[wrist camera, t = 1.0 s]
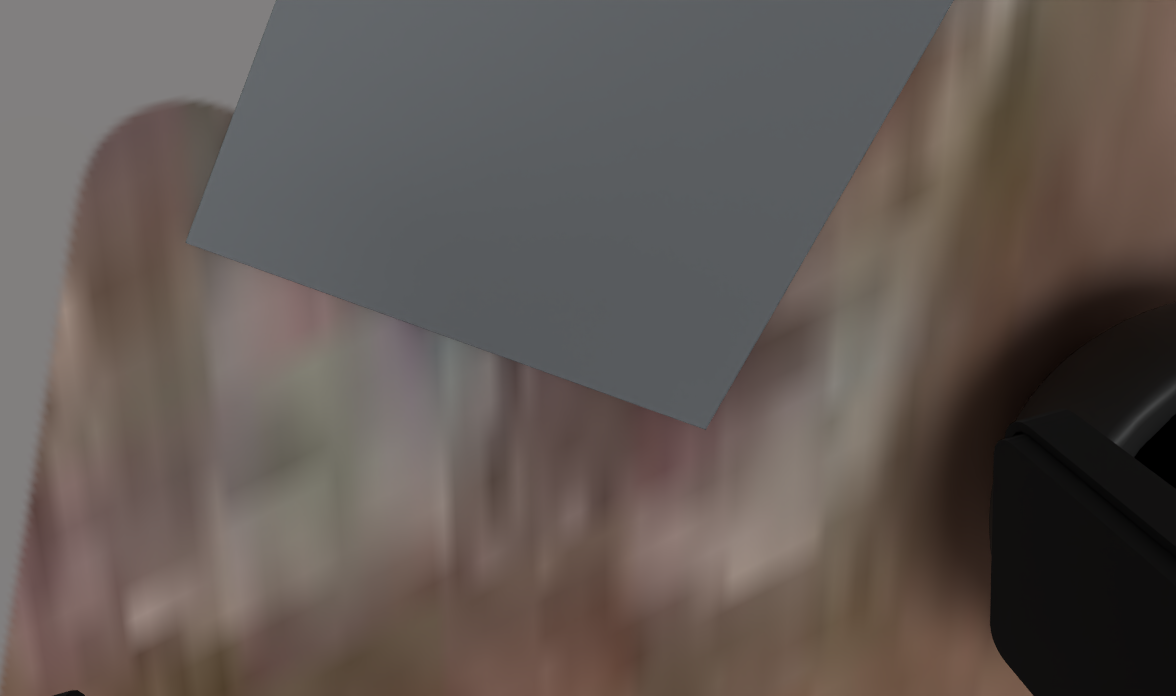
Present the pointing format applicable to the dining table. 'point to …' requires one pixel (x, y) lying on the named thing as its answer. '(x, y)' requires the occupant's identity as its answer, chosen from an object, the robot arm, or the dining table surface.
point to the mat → (560, 169)
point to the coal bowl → (1121, 390)
